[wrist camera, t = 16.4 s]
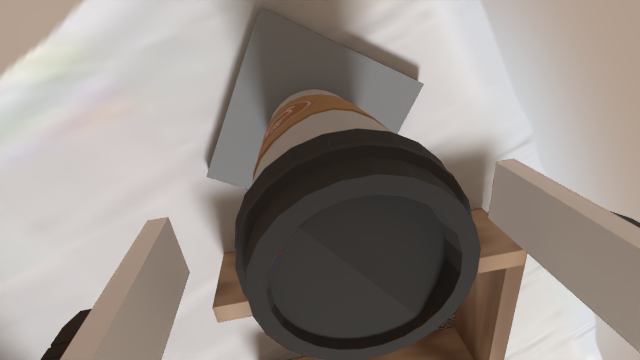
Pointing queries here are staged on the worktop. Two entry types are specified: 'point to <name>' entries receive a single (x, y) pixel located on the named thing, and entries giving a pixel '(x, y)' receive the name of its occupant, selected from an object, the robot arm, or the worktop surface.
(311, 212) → the coffee cup
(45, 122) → the worktop surface
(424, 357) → the u-shaped wooden frame
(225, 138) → the coaster
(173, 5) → the worktop surface
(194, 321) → the worktop surface
